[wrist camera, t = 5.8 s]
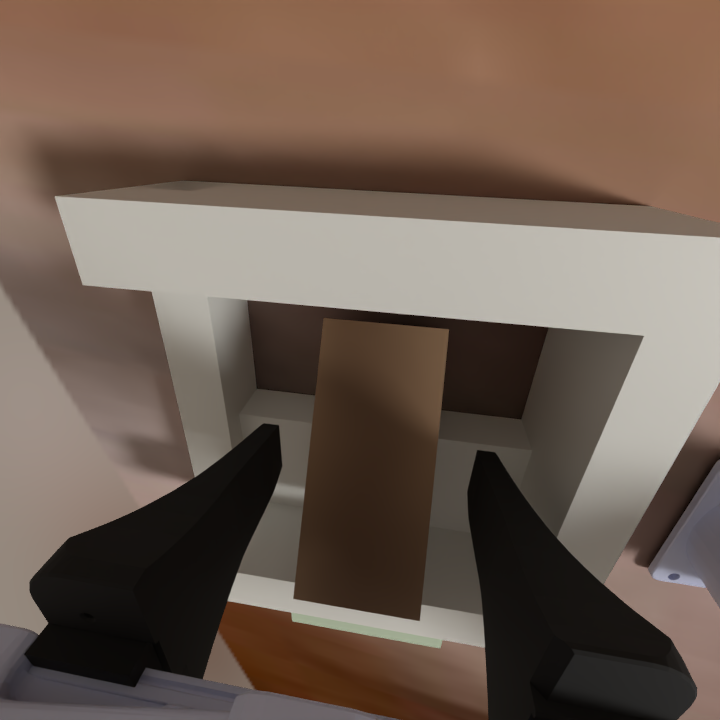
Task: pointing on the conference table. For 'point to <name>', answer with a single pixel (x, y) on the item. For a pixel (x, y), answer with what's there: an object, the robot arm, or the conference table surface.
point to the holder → (435, 299)
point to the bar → (371, 467)
